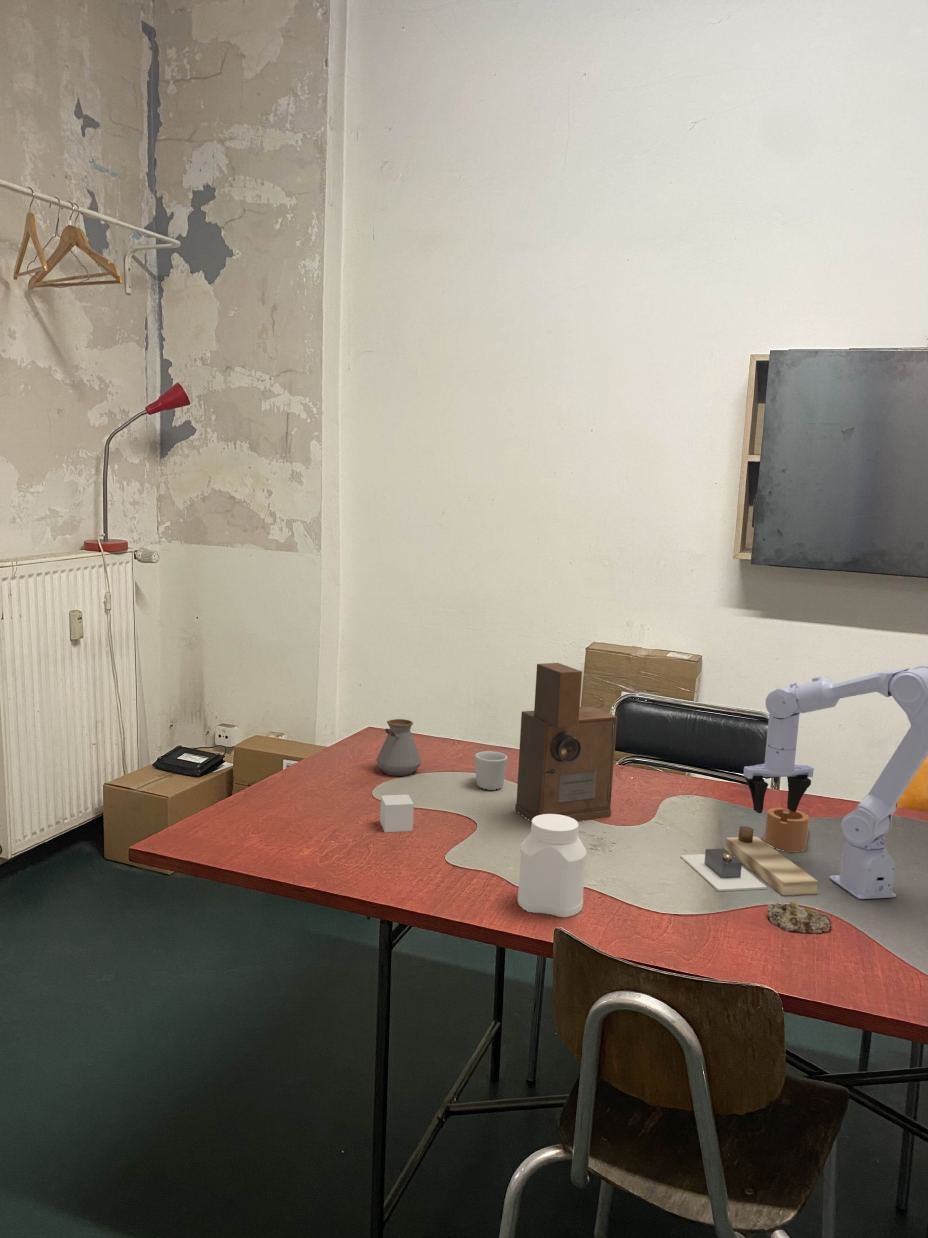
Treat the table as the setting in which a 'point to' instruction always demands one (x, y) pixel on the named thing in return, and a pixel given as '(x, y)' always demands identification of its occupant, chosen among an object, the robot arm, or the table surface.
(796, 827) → the bracket
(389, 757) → the coffee pot
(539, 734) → the vintage camera
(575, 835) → the jar
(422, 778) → the table surface
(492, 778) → the cup
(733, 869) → the lever cap
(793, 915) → the mineral rock
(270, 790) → the table surface
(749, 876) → the mat
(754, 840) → the body
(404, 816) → the white cube
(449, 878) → the table surface
